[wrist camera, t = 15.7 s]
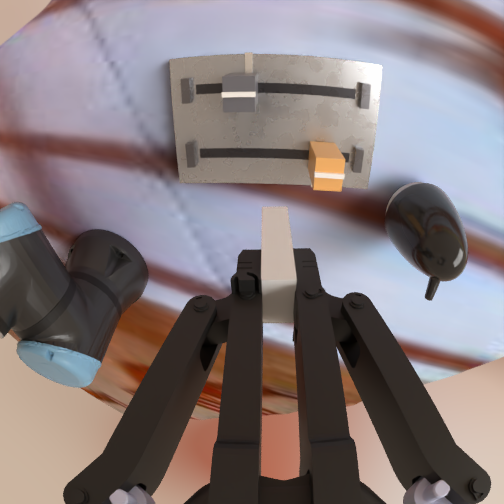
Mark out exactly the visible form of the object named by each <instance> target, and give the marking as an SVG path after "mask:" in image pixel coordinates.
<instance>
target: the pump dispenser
mask: <svg viewBox="0 0 504 504" xmlns="http://www.w3.org/2000/svg"><path fill="white" fill-rule="evenodd" d="M385 228H386V232H387V234H388V236H389V238H390V240H391V242H392V243H393V245H394V246H395V247H396V249H397V250H398V251H399V252H400V254H401V255H402V256H403V257H404V258H405V259H406V260H407V261H408V262H409V263H410V264H411V265H412V266H413V267H415V268H416V269H417V270H419V271H420V272H422V273H423V274H425V275H427V276H428V277H429V282H428V286H427V290H426V294H425V298H426V299H427V300H432V299H433V297H434V295H435V292H436V290H437V288H438V286H439V283H440V281H451V280H454V279H456V278H457V277H458V276H460V275H461V274H462V272H463V271H464V269H465V267H466V264H467V259H468V244H467V238H466V234H465V230H464V227H463V224H462V221H461V218H460V216H459V214H458V212H457V210H456V208H455V206H454V205H453V203H452V201H451V200H450V198H449V197H448V196H447V195H446V193H445V192H444V191H443V190H442V189H440V188H439V187H437V186H435V185H433V184H429V183H422V182H414V183H409V184H407V185H404V186H402V187H401V188H399V189H398V190H397V191H396V192H395V193H394V194H393V196H392V197H391V199H390V200H389V203H388V205H387V209H386V216H385Z"/></svg>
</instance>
